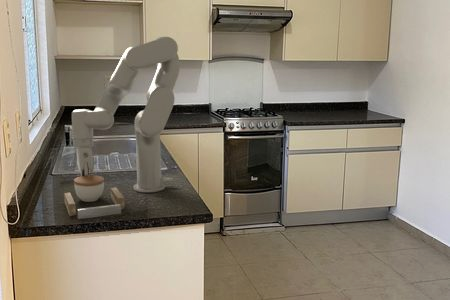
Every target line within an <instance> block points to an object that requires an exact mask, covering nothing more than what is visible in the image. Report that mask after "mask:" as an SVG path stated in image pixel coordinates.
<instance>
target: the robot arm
mask: <svg viewBox="0 0 450 300" xmlns="http://www.w3.org/2000/svg"><path fill="white" fill-rule="evenodd" d="M178 51H179V45H178V43H177V41H176V40H175V39H174V38H172V37H170V36H159V37H157V38H155V39H154V40H151V41H148V42H145V43H142V44H139V45H133V46H132V45H131V46H129V47H128V48H126V49H125V51H124V53H123V54H122V56H121V58H120V60H119V62H118V64H117V66H116V68H115V70H114V72H113V73H112V75H111V77H110V79H109V81H108V83H107V84H106V87H105V89H104V91H103V93H102V95H101V97H100V98H99V100H98V102H97V104H96V106H95V108H94V110H90V109H86V108H82V109H81V108H80V109H79V108H78V109H74V110H73V111H72V112H71V129H72V131H71V132H72V147H73V148H76V150H75V151H76V161H77V162H76V165H77V170H78V171H79V173H80V176H85V177H86V176H88V175H90V173H93V172H94V163H93V162H94V161H93V160H94V159H93V149H92V147H94V145H95V144H94V129H95V130H108V129H110V128H111V127H112V126H113V125H114V122H115V118H114V117H115V116H114V115H115V113H116V112H117V111H116V110H117V109H118V108H119V106H120V103H121V102H122V101H123V100H124V98H125V97H126V96H128V95H129V93H130V92H131V91H132V89H133V87H134V85H135V82H136V81H137V78H139V75H140V73H141V71H142V70H143V69H147V68H150V67H153V66H156V65H157V68H156V71H155V74H154V77H153V79H152V81H151V84H150V86H149V88H148V90H147V92H146V101H147V102H146V104H145V107H144V109H143V110H140V111H139V112H138V113H137V114H136V116H135V118H134V134H135V135H134V136H135V150H136V151H135V156H136V158H135V161H136V183H135V184H133V188H132V189H133V190H134V191H135V192H137V193H138V192H139V193H156V192H157V193H158V192H161V191H163V190H165V189H166V183H167V184H168V183H174V178H173V177H168V176H167V177H163V176H162V158H161V156H162V155H161V149H162V148H161V134H162V133H163V131H164V129H165V126H166V124H167V122H168V119H169V118H170V115H171V112H172V110H173V107H174V105H175V104H174V103H175V101H176V100H175V95H174V91H173V90H174V88H175V86H176V83H177V80H178V77H179V75H180V69H181V68H180V67H181V64H180V58H179V54H178Z"/></svg>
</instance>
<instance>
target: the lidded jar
mask: <svg viewBox="0 0 450 300" xmlns="http://www.w3.org/2000/svg"><path fill="white" fill-rule="evenodd" d="M73 183H74V192H75V193H76V196H77V197H78V198H79V199H80V200H81V201H82V202H86V203H87V202H88V203H90V202H91V203H93V202H96V201H98V200H99V199H100V197H101V196H102V195H103V193H104V187H105V178H104V177H103V176H100V175H96V174H95V175H94V174H93V175H91V174H89V175H88V176H86V177H85V176H81V175H80V176H77V177H76V178H74V179H73Z"/></svg>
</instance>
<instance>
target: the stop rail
mask: <svg viewBox="0 0 450 300" xmlns="http://www.w3.org/2000/svg"><path fill="white" fill-rule="evenodd" d="M76 210H77V218H78V220H83V219H84V220H85V219H91V218H98V217H99V218H100V217H104V216H106V217H107V216H115V215H121V214H122V209H121V205H120V204H115V203H114V204H109V205H99V206H93V207H85V208H78V209H76Z"/></svg>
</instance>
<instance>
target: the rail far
mask: <svg viewBox="0 0 450 300" xmlns="http://www.w3.org/2000/svg"><path fill="white" fill-rule="evenodd" d="M63 195H64V205H65V208H66V210H67V212H68V215H69V216H71V217H72V216H76V215H77V212H76V210H77V209H76V203H75V201H74V198H73V196H72V194H71V192H64V193H63Z"/></svg>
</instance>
